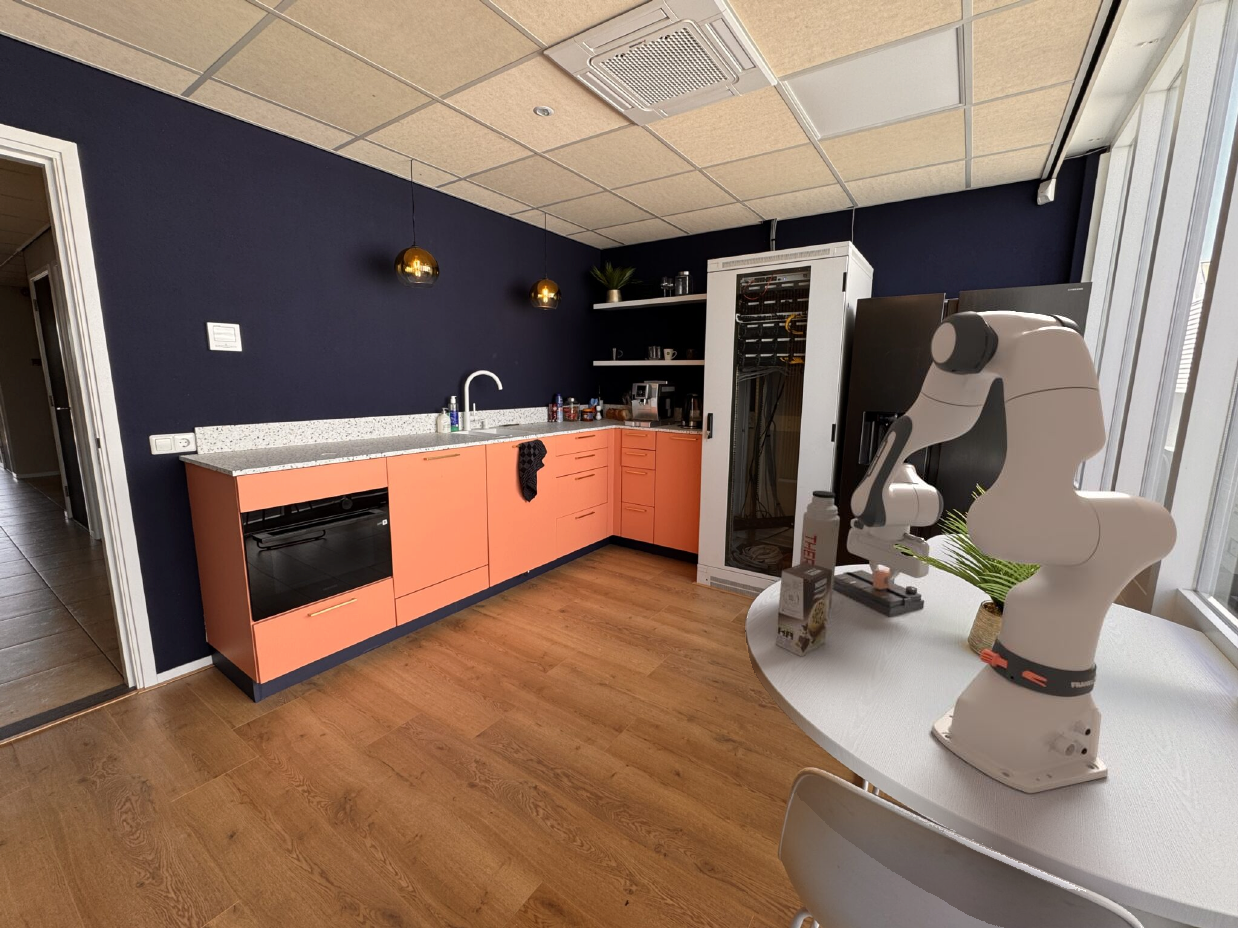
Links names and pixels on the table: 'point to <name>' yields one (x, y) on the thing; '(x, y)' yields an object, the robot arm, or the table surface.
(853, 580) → the block
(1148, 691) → the table surface
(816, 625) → the coffee box
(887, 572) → the fader
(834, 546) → the thermos bottle
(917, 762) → the table surface
